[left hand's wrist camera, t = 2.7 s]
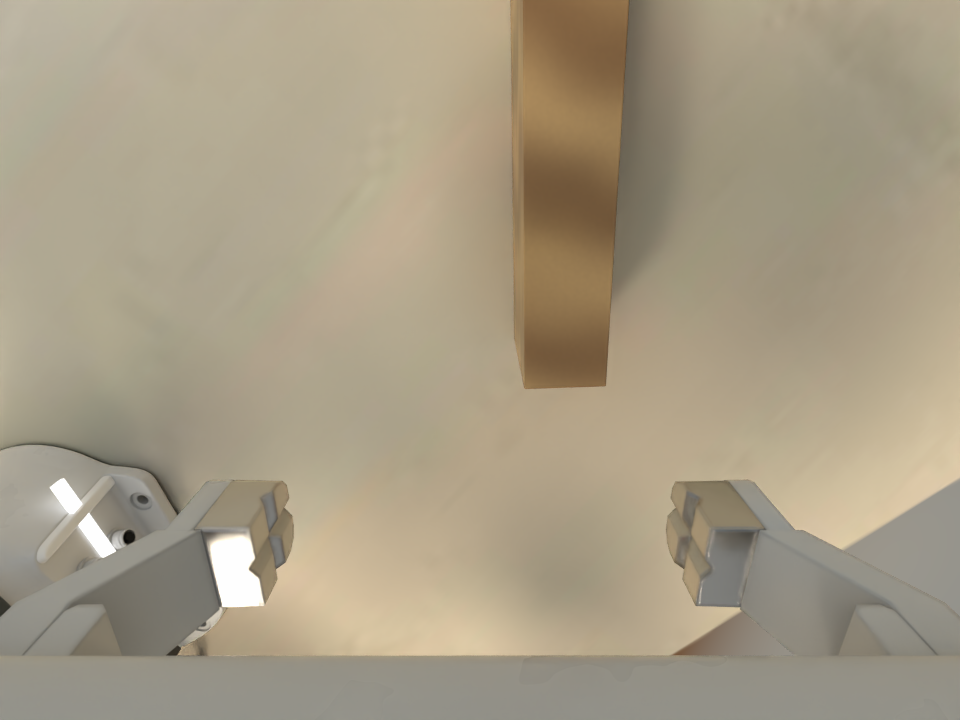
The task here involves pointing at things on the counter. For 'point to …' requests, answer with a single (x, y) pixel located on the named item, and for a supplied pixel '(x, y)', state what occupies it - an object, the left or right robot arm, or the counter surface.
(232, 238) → the counter surface
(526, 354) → the post
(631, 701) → the left robot arm
